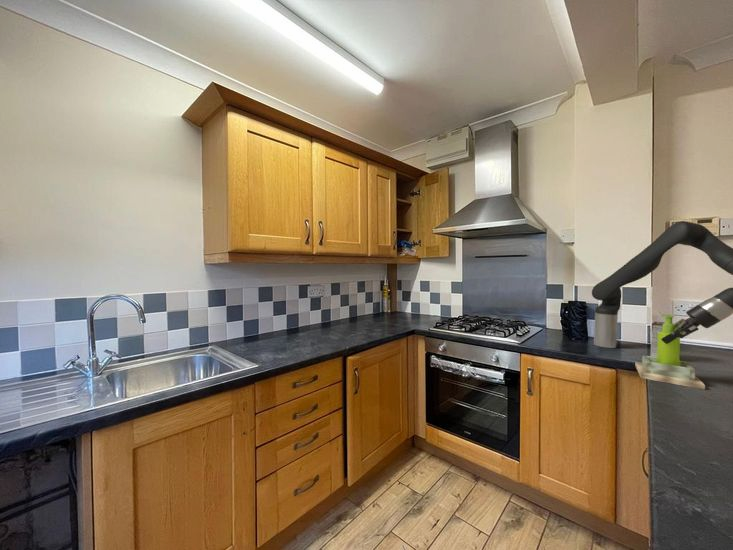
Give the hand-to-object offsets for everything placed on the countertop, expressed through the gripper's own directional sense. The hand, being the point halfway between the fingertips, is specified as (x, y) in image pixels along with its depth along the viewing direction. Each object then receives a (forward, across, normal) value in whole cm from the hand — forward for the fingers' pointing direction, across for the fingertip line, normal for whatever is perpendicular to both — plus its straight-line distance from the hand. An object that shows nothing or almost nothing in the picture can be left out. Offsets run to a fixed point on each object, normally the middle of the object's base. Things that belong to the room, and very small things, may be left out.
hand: (662, 340), depth 112 cm
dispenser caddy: (+9, 0, +11) cm, 14 cm away
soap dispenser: (+6, 0, +9) cm, 11 cm away
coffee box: (+7, -33, +13) cm, 36 cm away
